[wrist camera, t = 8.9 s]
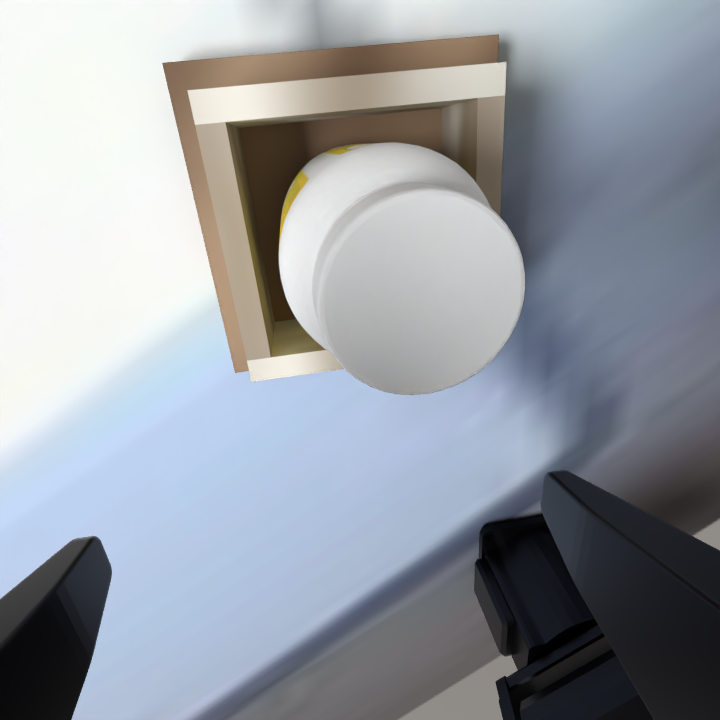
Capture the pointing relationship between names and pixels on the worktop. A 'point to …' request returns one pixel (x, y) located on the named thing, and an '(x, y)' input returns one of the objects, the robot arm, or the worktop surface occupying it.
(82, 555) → the robot arm
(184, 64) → the socket board
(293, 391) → the worktop surface
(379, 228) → the supplement bottle
